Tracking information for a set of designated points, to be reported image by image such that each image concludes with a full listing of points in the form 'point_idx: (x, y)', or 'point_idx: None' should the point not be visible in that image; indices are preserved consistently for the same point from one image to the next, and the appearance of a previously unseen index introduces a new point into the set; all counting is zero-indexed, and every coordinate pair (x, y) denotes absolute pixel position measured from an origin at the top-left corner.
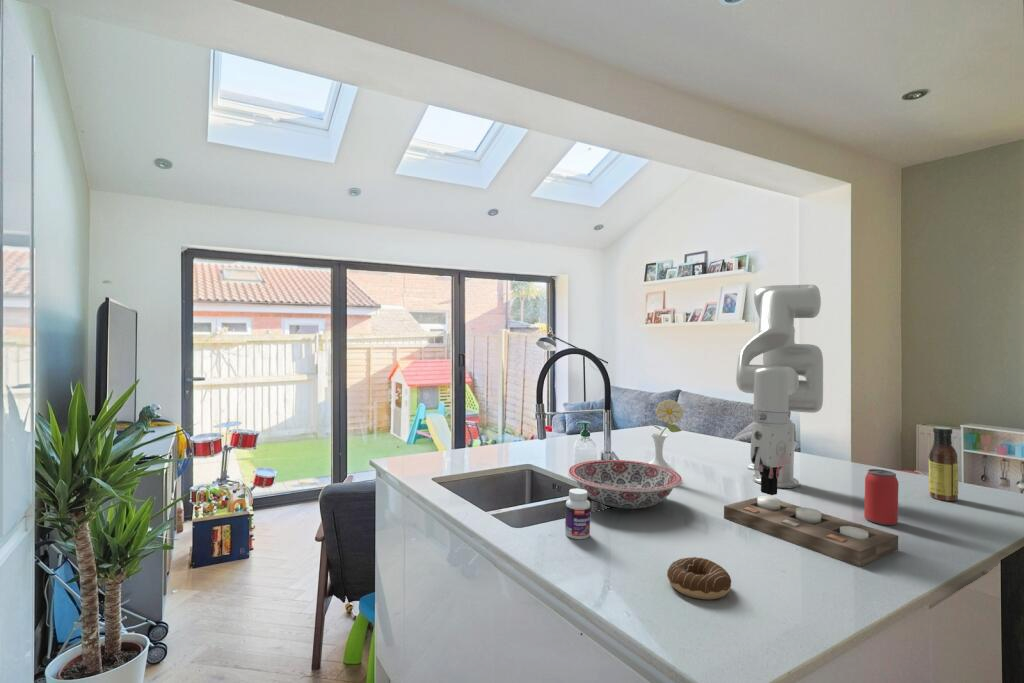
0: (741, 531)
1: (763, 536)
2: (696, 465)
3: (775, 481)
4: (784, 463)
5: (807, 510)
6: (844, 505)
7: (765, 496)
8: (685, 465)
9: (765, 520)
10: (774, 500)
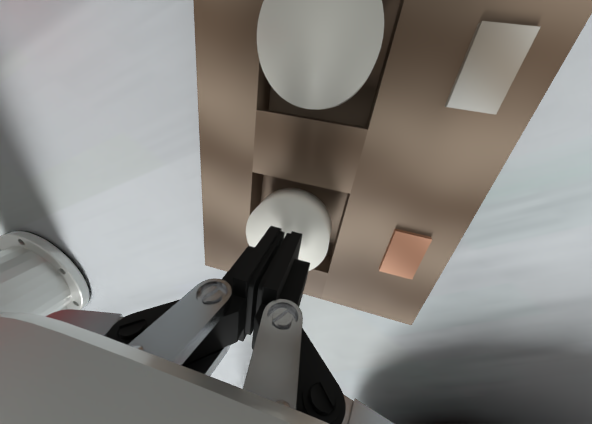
0: (505, 227)
1: (514, 158)
2: None
3: (258, 270)
4: (81, 361)
5: (311, 48)
6: (3, 93)
7: None
8: None
9: (491, 180)
10: (283, 219)
